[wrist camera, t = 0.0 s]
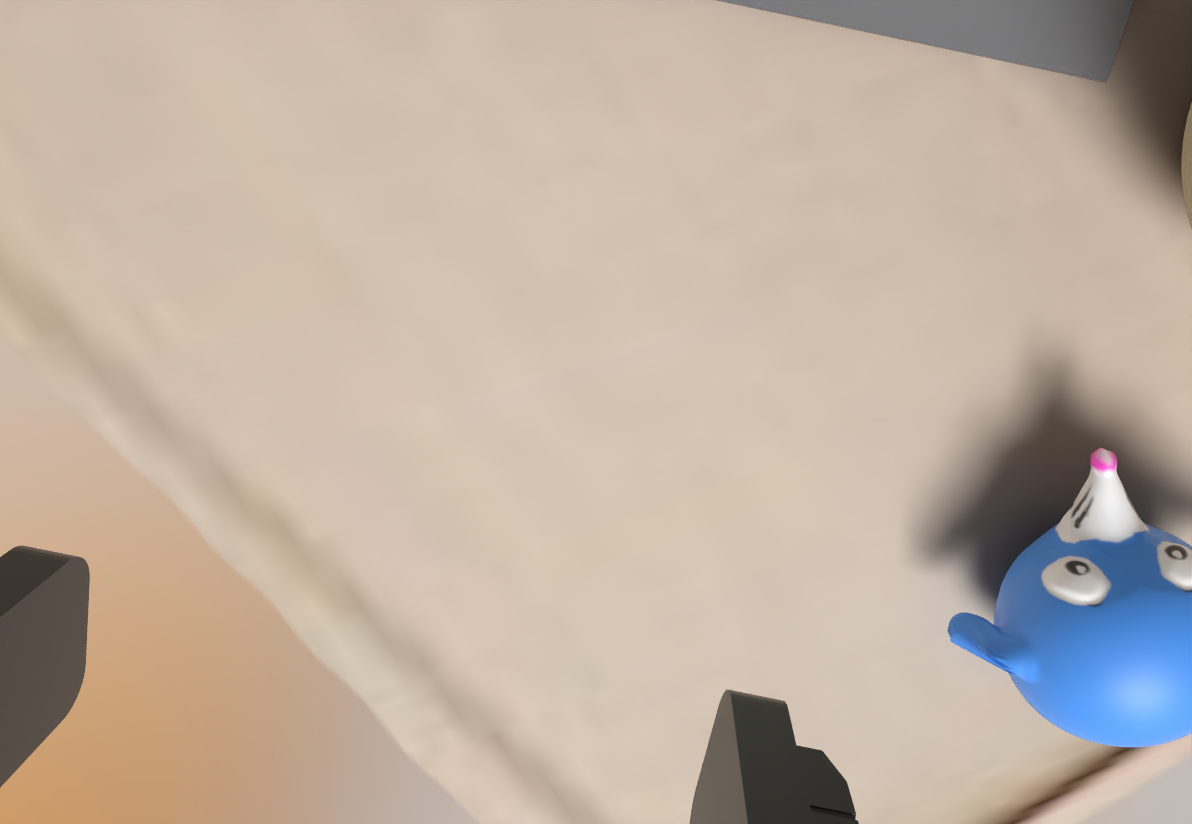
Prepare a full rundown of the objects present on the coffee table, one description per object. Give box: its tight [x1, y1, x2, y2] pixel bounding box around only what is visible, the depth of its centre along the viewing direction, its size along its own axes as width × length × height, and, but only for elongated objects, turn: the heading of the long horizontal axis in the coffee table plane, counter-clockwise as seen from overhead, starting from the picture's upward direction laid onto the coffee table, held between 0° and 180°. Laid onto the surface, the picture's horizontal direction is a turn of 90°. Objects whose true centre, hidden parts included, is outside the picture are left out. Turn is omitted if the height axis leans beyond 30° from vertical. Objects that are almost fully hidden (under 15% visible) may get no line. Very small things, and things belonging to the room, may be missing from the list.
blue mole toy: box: [948, 448, 1192, 747], centre depth 39 cm, size 12×12×8 cm
